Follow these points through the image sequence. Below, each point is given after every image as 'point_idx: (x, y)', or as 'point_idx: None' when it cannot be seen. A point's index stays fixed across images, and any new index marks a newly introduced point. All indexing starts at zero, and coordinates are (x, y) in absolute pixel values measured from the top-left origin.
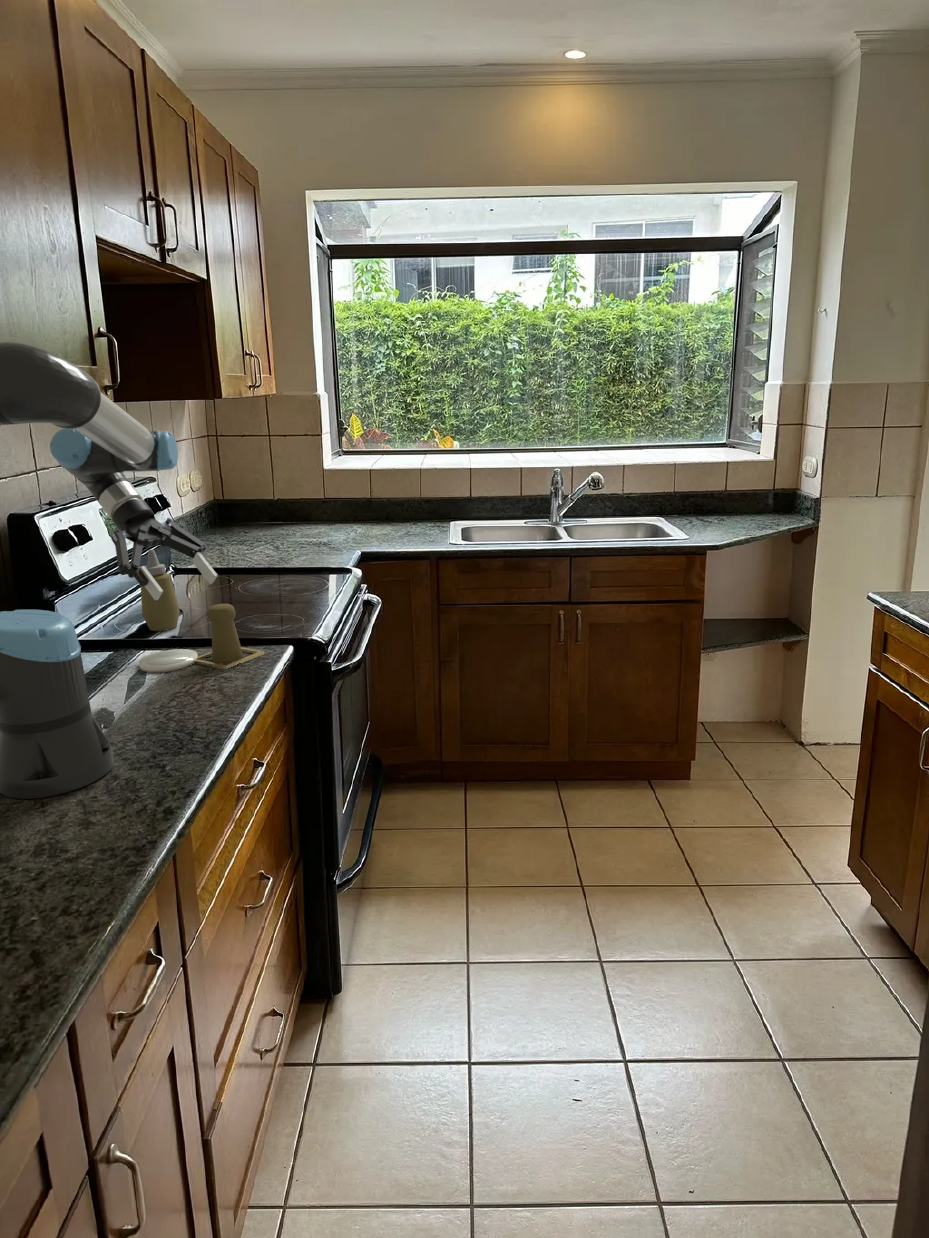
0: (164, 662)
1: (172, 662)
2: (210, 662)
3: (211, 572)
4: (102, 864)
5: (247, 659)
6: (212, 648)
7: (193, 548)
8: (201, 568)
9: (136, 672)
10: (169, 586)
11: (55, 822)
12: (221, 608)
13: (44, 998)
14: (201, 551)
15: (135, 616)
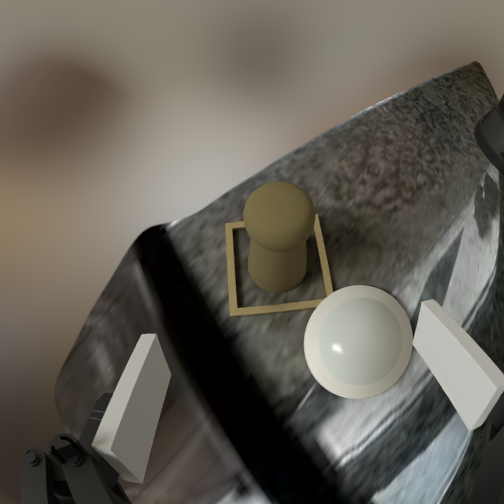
0: (382, 317)
1: (373, 302)
2: (321, 254)
3: (150, 351)
4: (470, 81)
5: None
6: (305, 262)
7: (98, 480)
8: (148, 416)
9: None
10: None
11: None
12: (292, 185)
13: (477, 65)
14: (77, 447)
15: None
